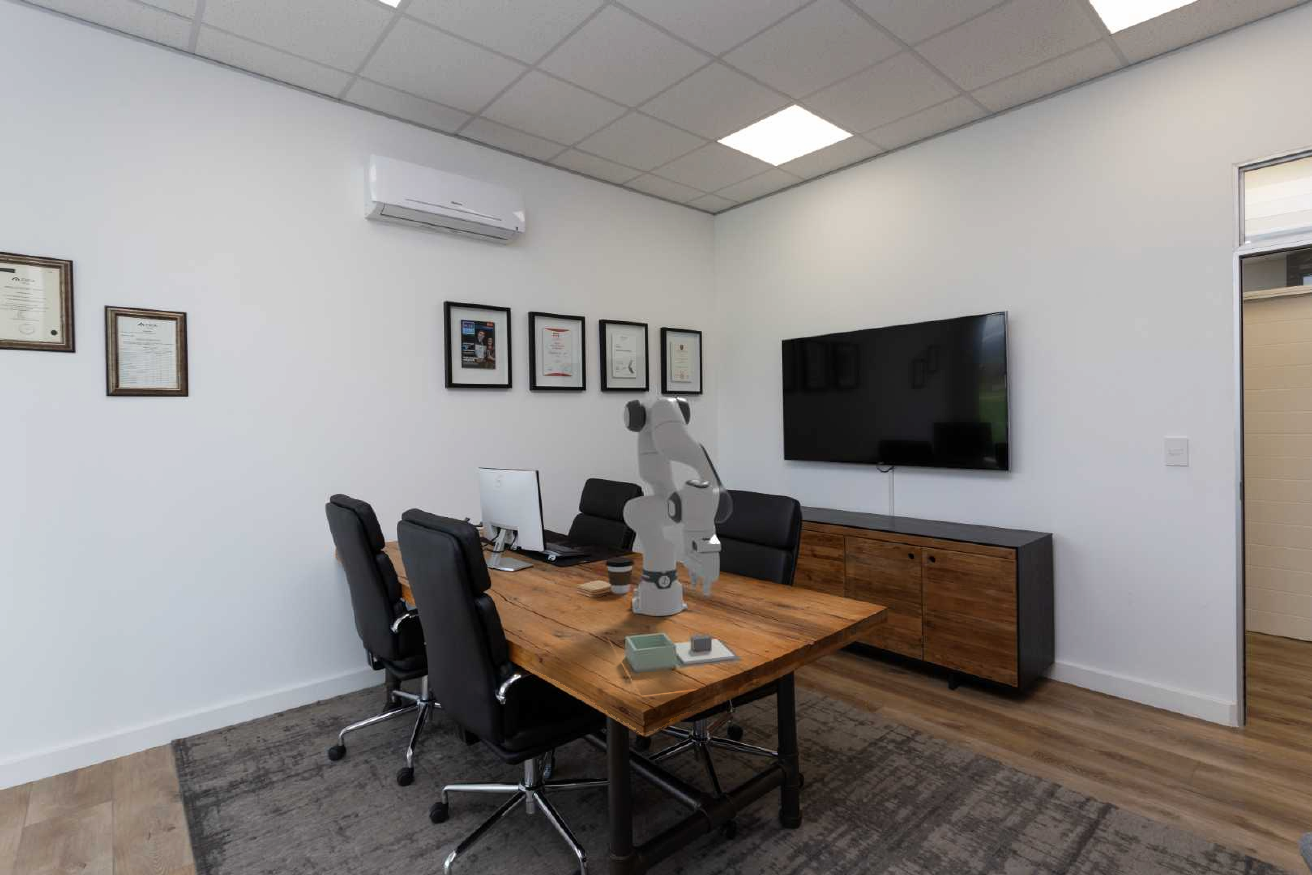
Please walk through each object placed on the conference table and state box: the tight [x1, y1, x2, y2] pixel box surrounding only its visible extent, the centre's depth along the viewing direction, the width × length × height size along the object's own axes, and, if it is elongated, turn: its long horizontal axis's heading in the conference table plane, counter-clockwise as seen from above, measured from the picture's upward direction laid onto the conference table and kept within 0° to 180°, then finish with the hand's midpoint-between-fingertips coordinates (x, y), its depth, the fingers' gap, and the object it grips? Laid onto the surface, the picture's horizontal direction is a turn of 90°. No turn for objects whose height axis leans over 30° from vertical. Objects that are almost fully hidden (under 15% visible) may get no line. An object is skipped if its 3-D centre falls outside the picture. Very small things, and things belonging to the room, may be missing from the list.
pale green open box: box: [624, 632, 678, 674], centre depth 170 cm, size 11×11×6 cm
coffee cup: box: [604, 556, 635, 595], centre depth 243 cm, size 11×11×12 cm
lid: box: [673, 633, 735, 665], centre depth 177 cm, size 14×14×4 cm
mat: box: [676, 639, 743, 668], centre depth 177 cm, size 17×17×1 cm
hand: (700, 590), depth 176 cm, fingers open, 8 cm apart
